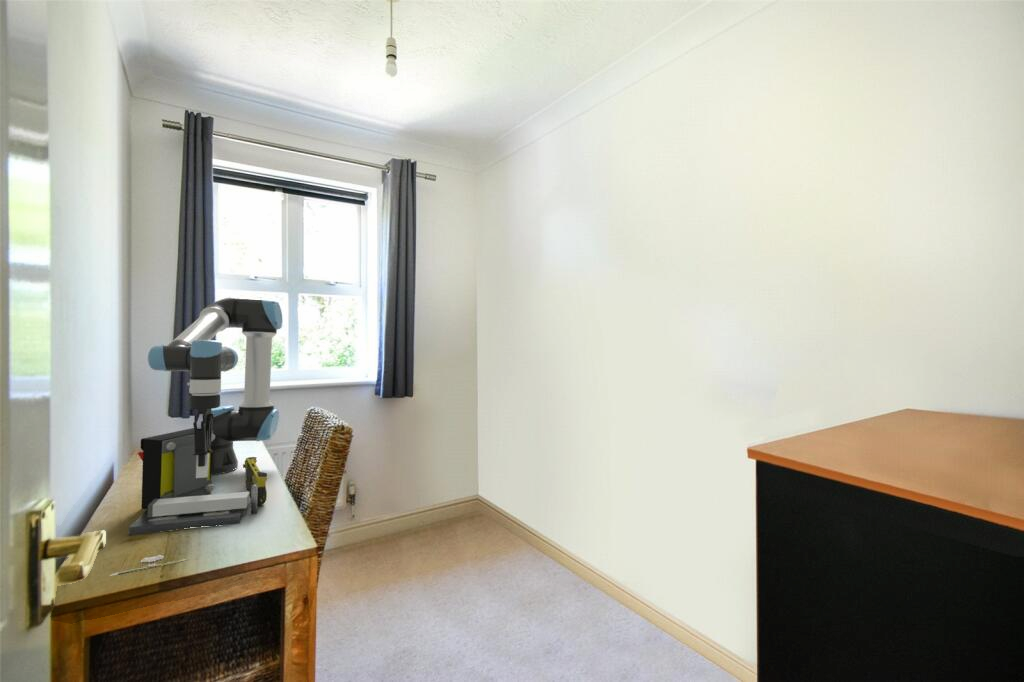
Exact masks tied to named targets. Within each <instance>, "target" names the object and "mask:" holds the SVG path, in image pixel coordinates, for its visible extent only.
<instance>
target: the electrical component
mask: <svg viewBox="0 0 1024 682" xmlns="http://www.w3.org/2000/svg"><path fill="white" fill-rule="evenodd" d="M214 439H215V435H214V434H213V430H212V438H211V449H209V450H212V441H213V440H214ZM139 447H140V449H141V451H138V452H137V455H138V457H139V458H140V459H141V461H142V475H141V476H142V477H141V479H142V480H141V510H146V509H148V505H149V504H150V503H151V502H152V501H153V500H154V499H165V498H177V497H190V496H202V495H208V494H209V493H211V492H213V490H214V487H215V486H214V485H213V481H212V475H211V460H212V453H209V468H208V477H205V478H196V459H197V455H193V453H195V440H194V427H191V428H186V429H183V430H177V431H172V432H168V433H163V434H158V435H153V436H148V437H143V438H141V439H140V446H139Z"/></svg>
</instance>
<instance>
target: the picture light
mask: <svg viewBox="0 0 1024 682" xmlns="http://www.w3.org/2000/svg"><path fill="white" fill-rule="evenodd" d="M162 558H164V559H165V555H162V554H158V555H156V556H150V557H143V559H141V560H140V564H143V563H142V562H149V563H148V565H147V566H144V567H139V568H134V569H129V570H125V571H124V570H123V571H119V572H115V573H111V574H110V575H108V577H113V576H119V575H124V574H129V573H134V572H138V571H137V570H139V571H143V570H142V569H144V570H147V569H146V568H149V569H153V568H152V567H154V568H157V567H156V566H159V567H162V566H161V565H164V564H168V563H172V562H175V561H176V560H175V561H168V562H165V563H159V564H156V563H155V562H157V561H156V560H158V561H160V560H159V559H162ZM162 560H163V559H162ZM182 560H186V559H185V558H184V559H182ZM153 561H154V562H153ZM150 563H152V564H150ZM164 566H165V565H164ZM133 571H134V572H133Z"/></svg>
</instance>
